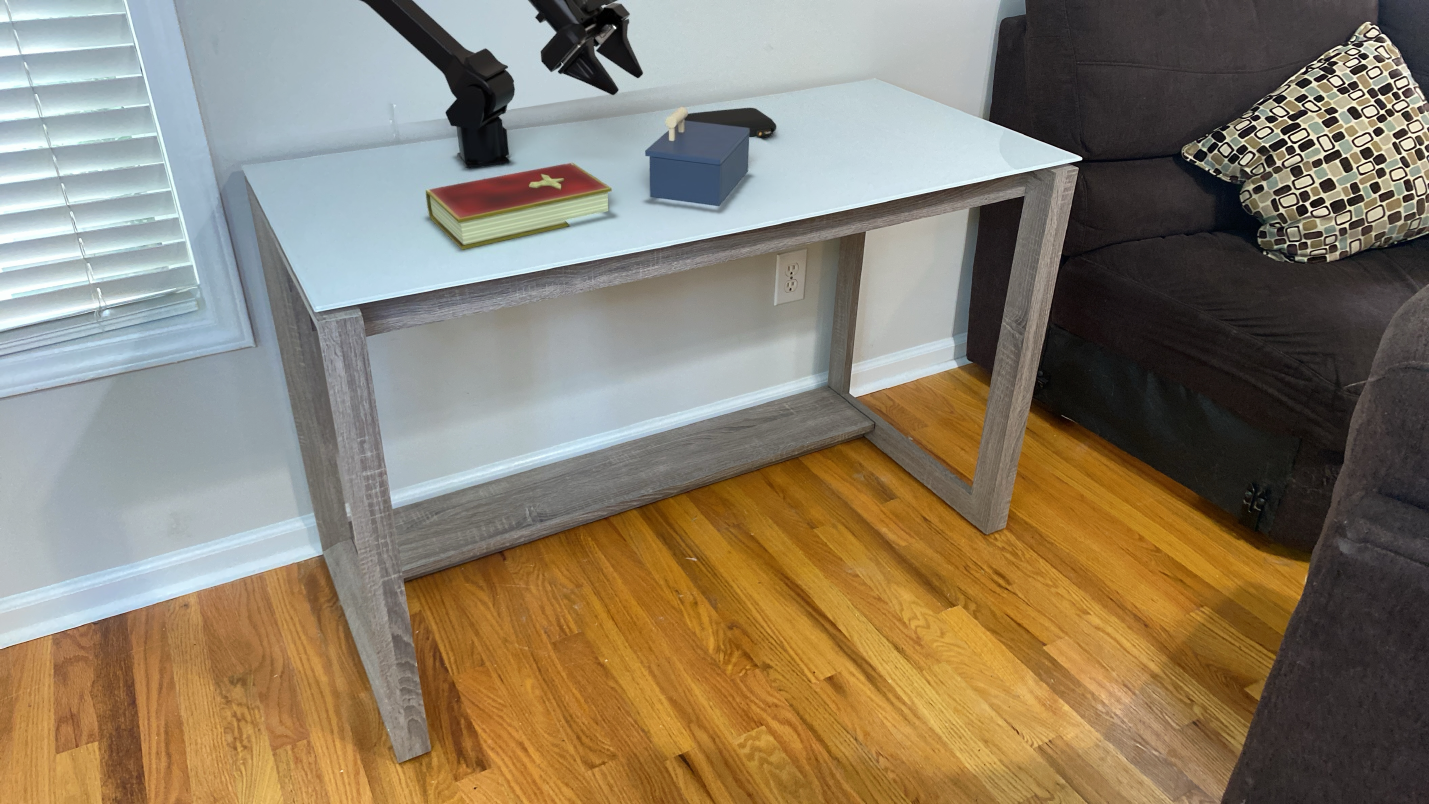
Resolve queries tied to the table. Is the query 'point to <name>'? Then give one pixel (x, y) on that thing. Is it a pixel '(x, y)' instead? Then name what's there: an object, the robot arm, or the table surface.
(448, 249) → the table surface
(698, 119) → the carrying case
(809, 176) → the table surface
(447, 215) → the hardcover book
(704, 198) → the box
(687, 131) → the lunchbox lid
